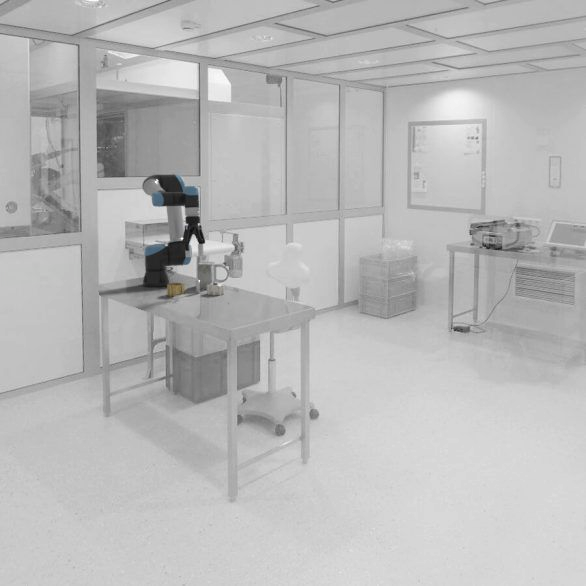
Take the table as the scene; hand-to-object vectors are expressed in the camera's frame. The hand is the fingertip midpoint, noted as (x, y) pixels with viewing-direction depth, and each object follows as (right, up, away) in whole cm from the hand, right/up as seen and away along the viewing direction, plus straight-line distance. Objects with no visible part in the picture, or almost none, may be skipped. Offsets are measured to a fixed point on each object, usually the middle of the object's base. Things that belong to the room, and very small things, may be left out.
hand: (194, 256), depth 346 cm
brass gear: (-11, -20, +6) cm, 24 cm away
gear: (+11, -20, +3) cm, 22 cm away
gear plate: (+6, -21, +4) cm, 22 cm away
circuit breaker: (+4, -17, +24) cm, 29 cm away
